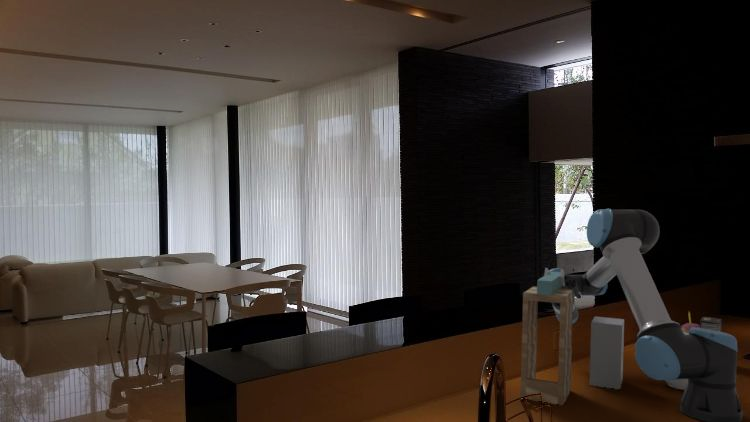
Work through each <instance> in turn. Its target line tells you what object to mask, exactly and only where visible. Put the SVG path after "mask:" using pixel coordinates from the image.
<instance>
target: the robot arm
mask: <svg viewBox="0 0 750 422" xmlns="http://www.w3.org/2000/svg"><path fill="white" fill-rule="evenodd" d="M660 233H661V231H660V225H659V222H658V220H657V218H655V216H654V215H653V214H652V213H651V212H648V211H646V210H643V209H613V208H612V209H611V208H605V209H597V210H595V211H594V212H593V213H592V214H591V215H590V216H589V219H588V221H587V227H586V239H587V241H588V243H589V245H591V246H592V247H594V248H600V252H601V254H602V257H601V258H600V259H598V261H596V262H595V264H593V266H591V268H589V270H587V272H585V273H584V274H566V272H565V270H564V269H563V268H561V267H556V268H551V269H550V270H549V268H548V267H545V268H544V273H543V274H542V276H539V278H538V280H539V279H540V278H542V277H544V276H545V275H547V274H549V273H550V272H561V273H560V278H561V282H562V285H563V286H562V287H561V288H560V289H572V290H573V318H572V325H573V324H575V323H576V322H577V320H578V319H579V311H578V307H577V303H576V299H575V298H577V299H581V298H582V296H603V295H604V294H605V293H606V292H607V290H608V288H609V287H608V285H609V284H608V283H609V282H610V281H611V280H612V279H613V278H614V277H616V276H617V278H618V281H619V283H620V286H621V288H622V290H623V293H624V295H625V298H626V300H627V303H628V305H629V308H630V309H631V313H632V315H633V317H634V318H635V319H634V320H635V321H636V324H637V326H638V329H639V332H638V333H637V335H636V337H637V340H636V342H635V345H634V350H635V352H634V356H635V361H636V363H637V365H638V367H639V368H640V370H641V371H642V372H643V373H644V374H645V376H647V377H648V378H651V379H653V380H655V381H665V380H666V381H672V380H676V379H688V384H687V386H686V388H685V390H683V391H684V392H683V394H682V396H681V399H680V400H679V401H680V402H679V410H680V412H682V414H684V415H685V416H687V417H690V418H692V419H695V420H699V421H701V422H702V421H703V422H742V421H743V417H744V415H743V414H744V413H743V408H742V405H741V402H740V398H739V395H738V392H737V371H738V370H737V369H738V368H737V367H738V366H737V365H738V353H739V350H738V340H737V338H736V337H735V336H734V335H732V334H730V333H728V332H723V331H721V332H720V331H715V330H710V329H704V328H696V327H692V328H690V330H689V335H684V333H683V331H682V329H681V327H682V325H681V324H680V323H679V322H676V321H674V320H672V319H671V317H670V314H669V313H668V310H667V308H666V306H665V304H664V301H663V299H662V297H661V295H660V293H659V291H658V289H657V285H656V283H655V282H654V279H653V278H652V277H653V276H652V275H651V273H650V272H649V269H648V267H647V264H646V262H645V260H644V257H643V255H644V254H646V253H647V252H649V251H650V250H651V249H652V248H653V247H654V246H655V245H656V243H657V242H658V240H659V238H660ZM551 305H552V308H553V310H554V312H555V316H556V317H555V318H556V319H557V321H559V322H560V303H553V302H551ZM666 381H665V382H666Z"/></svg>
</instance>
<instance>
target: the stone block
mask: <svg viewBox="0 0 750 422" xmlns="http://www.w3.org/2000/svg"><path fill="white" fill-rule="evenodd" d="M624 341H625V319H623V318H615V317H614V318H613V317H603V316H594V317H593V319H592V320H591V322H590V352H589V354H590V355H589V356H590V357H589V358H590V359H589V360H590V361H589V386H590V385H591V387H597V386H598V388H604V387H606V389H611V388H614V389H613V390H618V389H620V388H622V385H621V384H623V379H624V378H623V376H624V375H623V374H624V373H623V370H624V343H625V342H624ZM620 390H621V389H620Z"/></svg>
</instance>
